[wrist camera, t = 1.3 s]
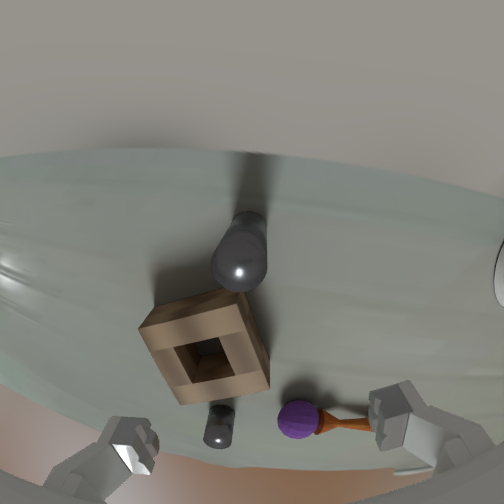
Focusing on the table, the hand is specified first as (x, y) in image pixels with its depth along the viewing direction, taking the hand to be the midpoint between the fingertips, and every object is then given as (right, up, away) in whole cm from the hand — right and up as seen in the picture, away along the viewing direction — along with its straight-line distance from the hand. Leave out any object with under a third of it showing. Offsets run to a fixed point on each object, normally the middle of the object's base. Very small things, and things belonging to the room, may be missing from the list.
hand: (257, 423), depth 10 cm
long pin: (-1, +9, +26) cm, 27 cm away
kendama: (+13, -19, +33) cm, 41 cm away
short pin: (-5, -19, +34) cm, 39 cm away
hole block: (-5, -5, +30) cm, 31 cm away
